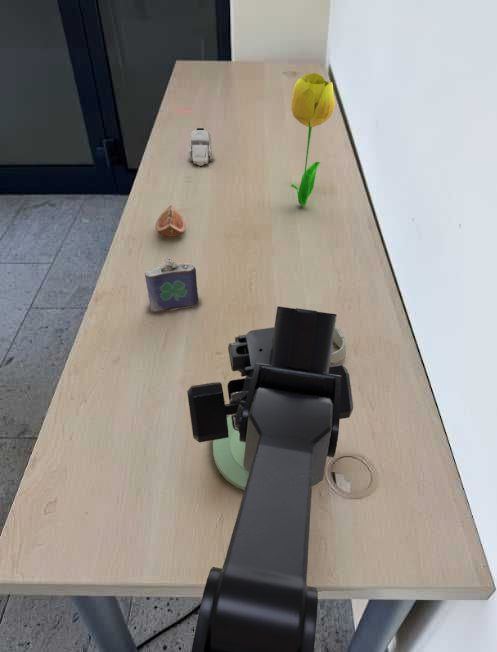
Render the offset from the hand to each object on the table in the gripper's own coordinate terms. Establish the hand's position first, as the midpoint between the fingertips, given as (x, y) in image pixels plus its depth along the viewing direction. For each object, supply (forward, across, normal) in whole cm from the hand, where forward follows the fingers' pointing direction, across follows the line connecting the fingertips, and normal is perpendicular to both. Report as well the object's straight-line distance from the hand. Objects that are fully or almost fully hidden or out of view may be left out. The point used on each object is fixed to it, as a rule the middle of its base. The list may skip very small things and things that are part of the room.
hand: (258, 393), depth 64 cm
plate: (+7, 0, +9) cm, 12 cm away
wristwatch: (+20, -16, -3) cm, 25 cm away
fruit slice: (+48, +8, -32) cm, 59 cm away
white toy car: (+72, -4, -56) cm, 92 cm away
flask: (+31, +9, -15) cm, 36 cm away
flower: (+52, -25, -36) cm, 68 cm away
